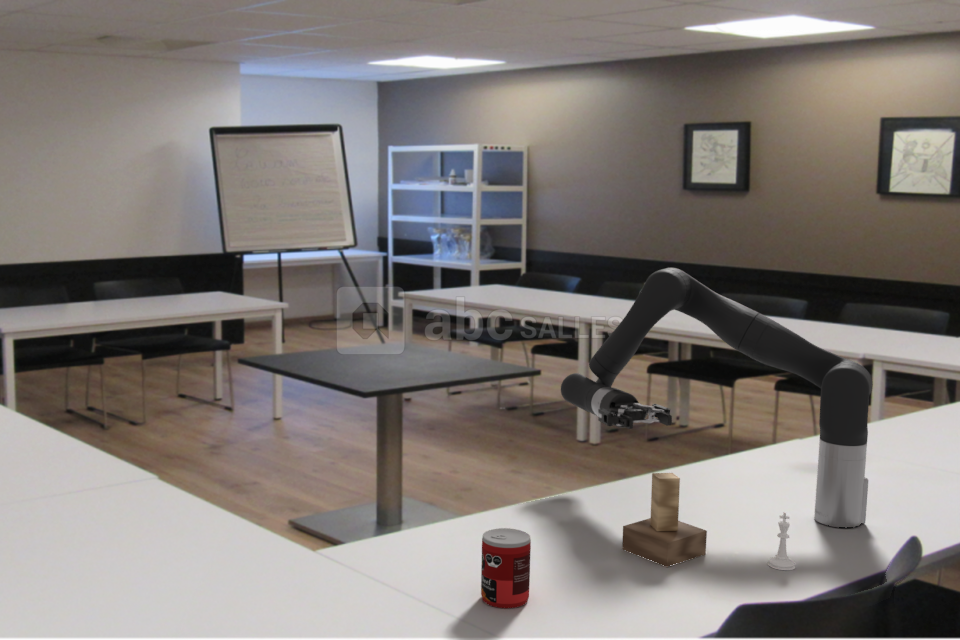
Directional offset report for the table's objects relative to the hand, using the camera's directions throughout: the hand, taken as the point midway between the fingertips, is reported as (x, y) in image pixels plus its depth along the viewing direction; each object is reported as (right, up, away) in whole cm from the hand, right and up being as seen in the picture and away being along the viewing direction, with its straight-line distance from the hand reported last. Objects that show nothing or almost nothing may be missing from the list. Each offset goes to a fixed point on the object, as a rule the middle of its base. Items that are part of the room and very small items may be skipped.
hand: (650, 422), depth 199 cm
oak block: (+1, -19, -12) cm, 22 cm away
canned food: (-30, -26, -34) cm, 52 cm away
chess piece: (+21, -25, -17) cm, 37 cm away
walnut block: (+1, -24, -11) cm, 26 cm away
